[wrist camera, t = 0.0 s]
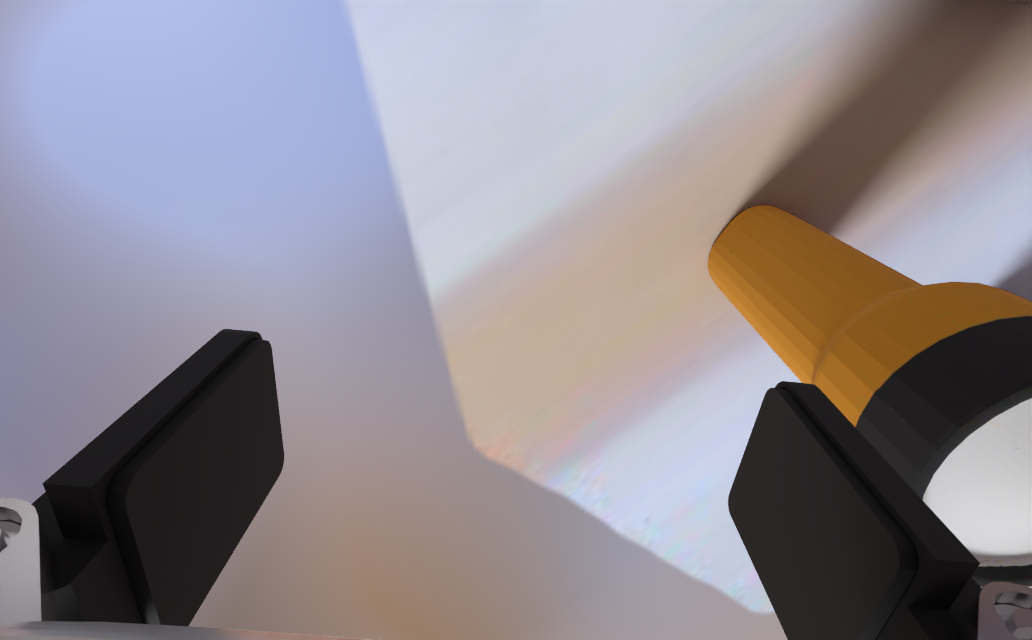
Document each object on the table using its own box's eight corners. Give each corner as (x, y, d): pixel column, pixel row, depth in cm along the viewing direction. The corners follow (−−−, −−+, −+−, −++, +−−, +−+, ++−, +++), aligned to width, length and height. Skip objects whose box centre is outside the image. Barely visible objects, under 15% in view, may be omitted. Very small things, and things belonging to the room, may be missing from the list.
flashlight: (1118, 312, 15) (1314, 460, 17) (753, 162, 38) (853, 232, 40) (848, 534, 18) (1035, 632, 20) (667, 274, 42) (763, 332, 44)
